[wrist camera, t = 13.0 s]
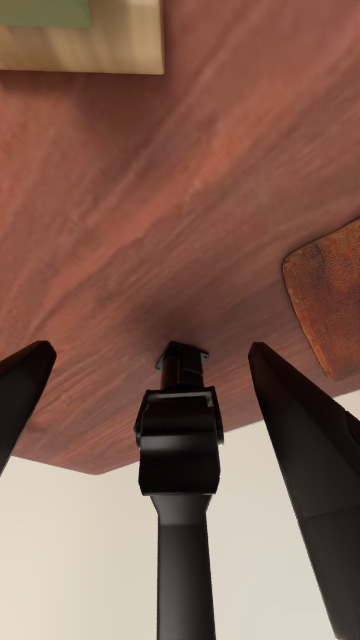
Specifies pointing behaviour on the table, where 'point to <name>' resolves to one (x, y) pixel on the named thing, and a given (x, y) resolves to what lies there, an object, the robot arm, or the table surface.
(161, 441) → the robot arm
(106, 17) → the rods
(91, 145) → the table surface
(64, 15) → the bar
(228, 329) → the table surface
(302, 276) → the wooden tablet
